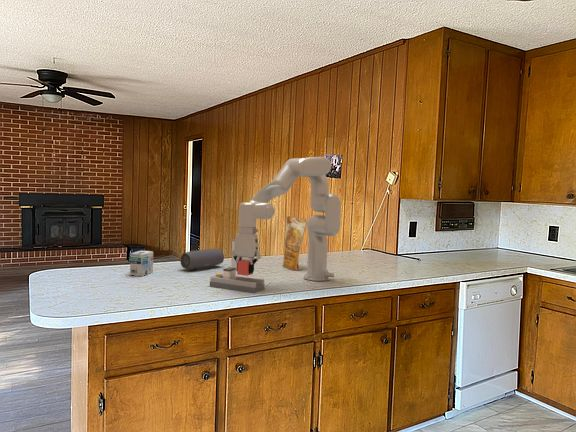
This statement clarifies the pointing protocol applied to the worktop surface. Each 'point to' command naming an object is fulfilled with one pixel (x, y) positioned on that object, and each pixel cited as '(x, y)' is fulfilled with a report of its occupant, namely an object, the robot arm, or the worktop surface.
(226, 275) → the breaker lever
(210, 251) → the bluetooth speaker
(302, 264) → the worktop surface
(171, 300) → the worktop surface
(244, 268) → the block
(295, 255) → the pancake mix bag
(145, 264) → the light bulb box
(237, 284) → the gray rectangular tray
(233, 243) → the milk carton
